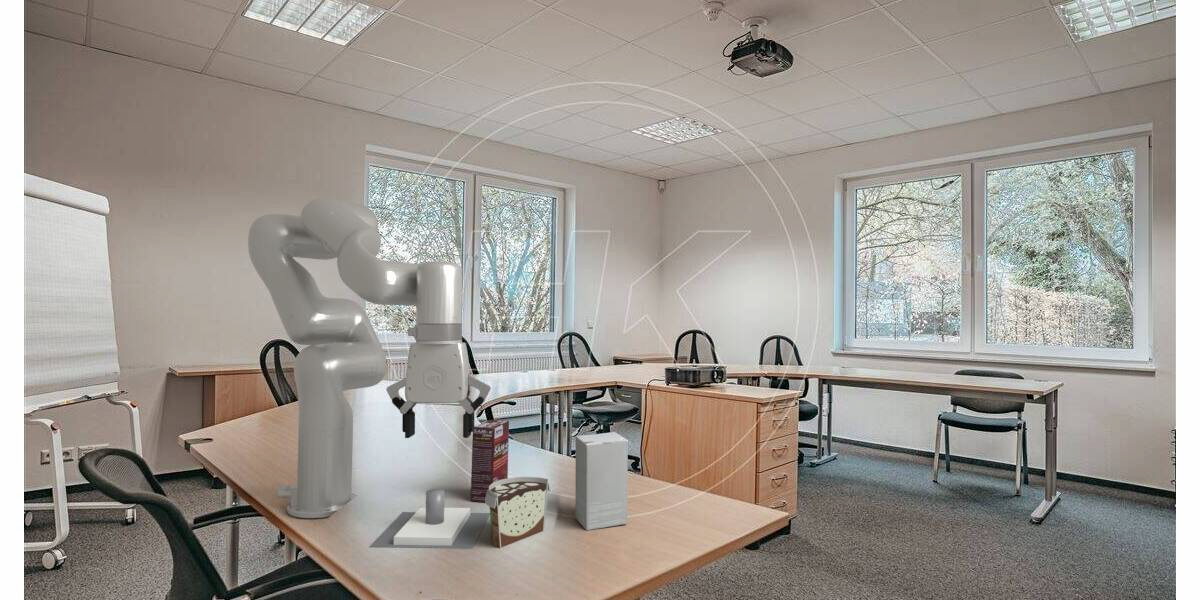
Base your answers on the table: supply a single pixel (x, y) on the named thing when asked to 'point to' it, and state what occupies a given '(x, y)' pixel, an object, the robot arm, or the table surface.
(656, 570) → the table surface
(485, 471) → the supplement box
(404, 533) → the lid
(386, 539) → the mat
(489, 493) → the food container
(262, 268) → the robot arm
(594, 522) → the skincare box
